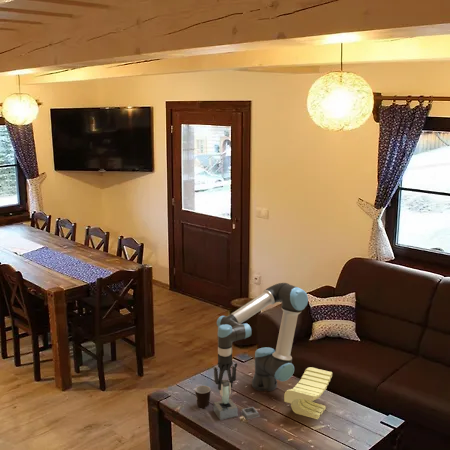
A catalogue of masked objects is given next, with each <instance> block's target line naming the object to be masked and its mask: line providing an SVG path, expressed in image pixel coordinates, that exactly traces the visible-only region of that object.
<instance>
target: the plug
mask: <svg viewBox="0 0 450 450" xmlns="http://www.w3.org/2000/svg"><path fill="white" fill-rule="evenodd" d="M222 385H223V396H221V401H222V403H224V404H227V403H229V399H230V394H229V379H222Z"/></svg>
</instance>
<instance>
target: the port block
mask: <svg viewBox="0 0 450 450" xmlns="http://www.w3.org/2000/svg"><path fill="white" fill-rule="evenodd" d="M212 404H213V405H212V407H213V410H212V411H213V412H214V413H215V415H216V416H217V418H218V420H220V421H222V420H227V419H228V420H229V419H232V418H235V417H236V418H237V417H238V415H239V414H238V406H237V405H236V404H235V403H234V402H233V400H232V399H231V398H229V403H227V404H224V403H222V400H218V401H214V402H213V403H212Z"/></svg>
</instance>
